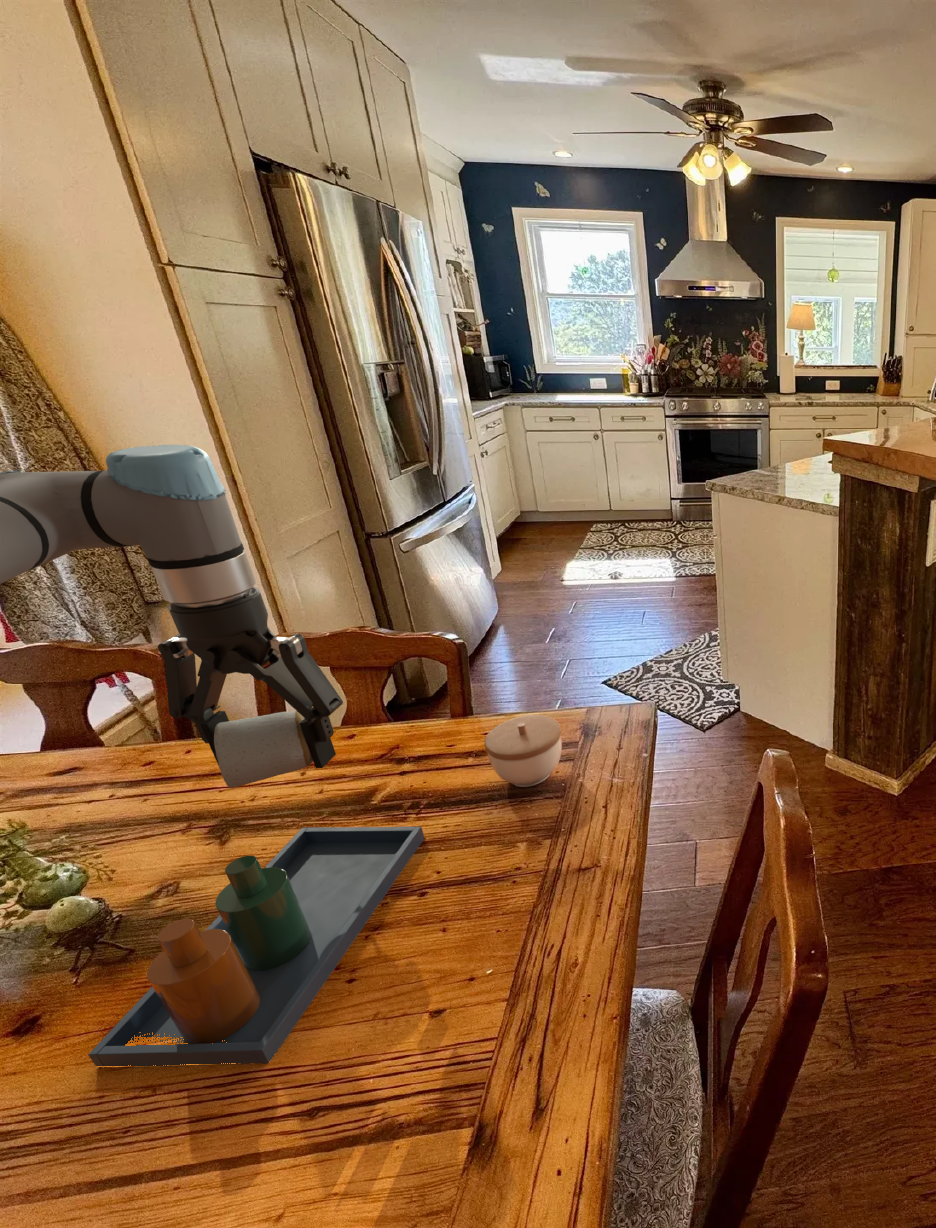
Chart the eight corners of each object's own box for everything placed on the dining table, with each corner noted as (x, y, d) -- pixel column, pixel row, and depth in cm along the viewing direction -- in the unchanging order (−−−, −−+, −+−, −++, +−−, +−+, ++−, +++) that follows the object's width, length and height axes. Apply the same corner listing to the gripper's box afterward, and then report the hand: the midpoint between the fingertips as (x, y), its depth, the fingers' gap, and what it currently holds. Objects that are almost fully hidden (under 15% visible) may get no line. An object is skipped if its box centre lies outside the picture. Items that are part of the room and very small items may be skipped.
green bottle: (230, 971, 70) (186, 887, 65) (270, 924, 76) (233, 843, 71) (287, 970, 71) (249, 886, 66) (323, 923, 76) (290, 842, 71)
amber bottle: (166, 1047, 63) (112, 959, 58) (215, 989, 69) (169, 904, 63) (230, 1045, 64) (182, 957, 58) (274, 987, 69) (233, 903, 64)
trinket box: (579, 774, 103) (571, 724, 99) (511, 807, 96) (500, 755, 92) (547, 745, 110) (539, 697, 106) (482, 774, 102) (470, 724, 98)
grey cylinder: (319, 775, 78) (301, 721, 75) (230, 801, 74) (207, 744, 70) (316, 734, 86) (299, 683, 83) (235, 755, 81) (214, 702, 78)
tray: (99, 1072, 62) (87, 1055, 61) (307, 842, 88) (301, 827, 87) (270, 1067, 62) (261, 1050, 61) (425, 840, 89) (421, 826, 88)
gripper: (345, 581, 74) (392, 742, 83) (132, 580, 72) (204, 744, 82) (301, 608, 67) (358, 780, 76) (65, 608, 66) (153, 783, 75)
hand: (279, 761), depth 79 cm, fingers closed on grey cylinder, 10 cm apart
